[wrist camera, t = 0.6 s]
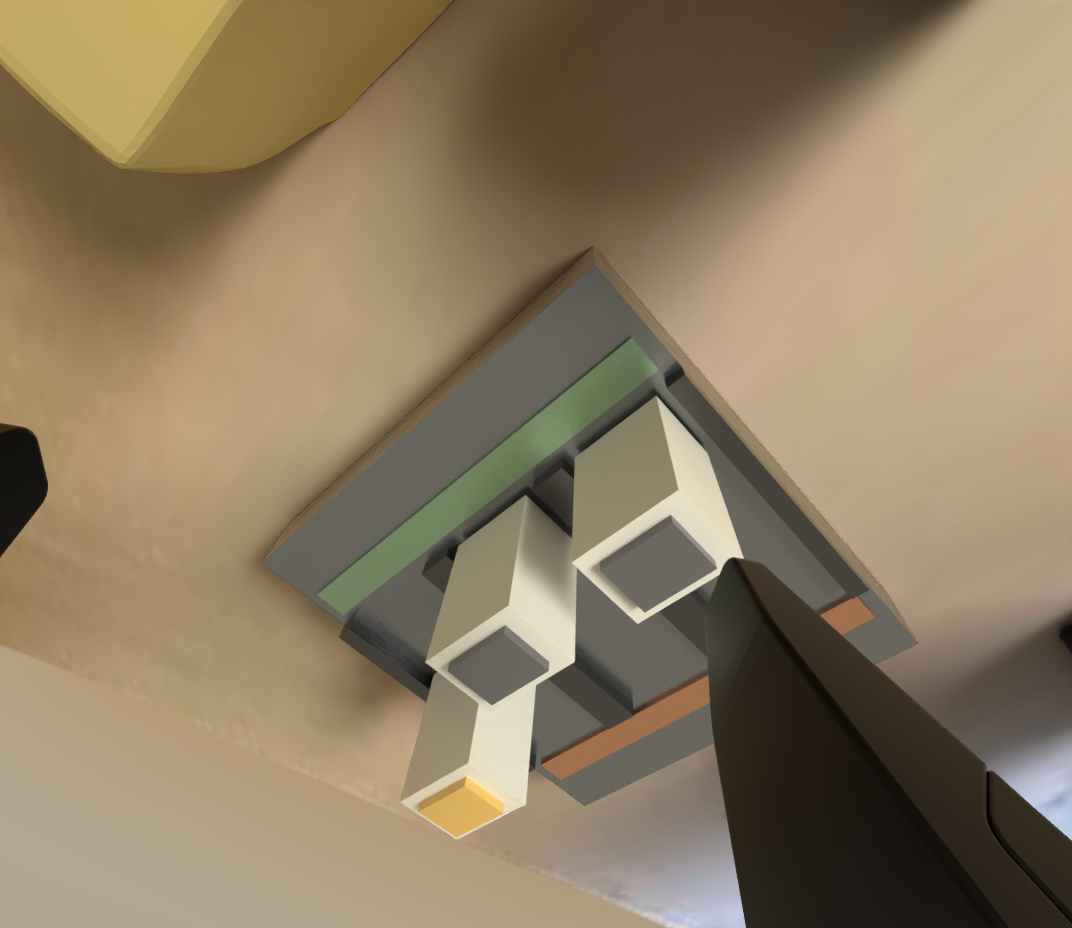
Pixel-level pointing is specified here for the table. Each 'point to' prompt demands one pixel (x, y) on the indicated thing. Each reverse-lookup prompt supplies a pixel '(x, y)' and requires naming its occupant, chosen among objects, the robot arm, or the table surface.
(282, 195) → the table surface
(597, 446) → the block
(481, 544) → the block
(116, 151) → the cheese
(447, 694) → the block
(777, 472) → the breaker panel
